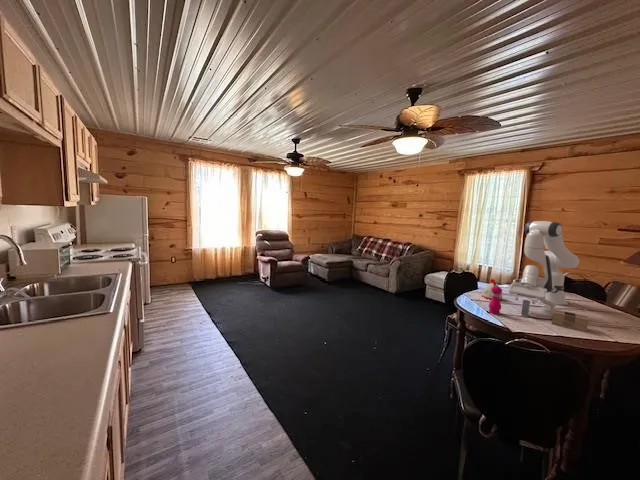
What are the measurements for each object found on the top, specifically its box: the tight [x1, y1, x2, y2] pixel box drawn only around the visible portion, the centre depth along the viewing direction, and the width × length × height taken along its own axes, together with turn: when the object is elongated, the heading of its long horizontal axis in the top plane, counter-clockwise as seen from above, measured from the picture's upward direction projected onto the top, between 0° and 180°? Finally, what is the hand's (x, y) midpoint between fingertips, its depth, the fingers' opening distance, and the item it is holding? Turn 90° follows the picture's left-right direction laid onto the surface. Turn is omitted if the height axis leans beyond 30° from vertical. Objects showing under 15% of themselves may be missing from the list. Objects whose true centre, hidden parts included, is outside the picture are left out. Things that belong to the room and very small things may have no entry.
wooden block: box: [550, 308, 589, 333], centre depth 173 cm, size 8×16×8 cm, turn 49°
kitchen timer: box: [481, 278, 503, 302], centre depth 223 cm, size 14×14×15 cm
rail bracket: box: [520, 299, 531, 318], centre depth 188 cm, size 4×4×10 cm
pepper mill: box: [488, 283, 503, 315], centre depth 191 cm, size 7×7×20 cm
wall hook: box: [539, 299, 558, 315], centre depth 196 cm, size 9×10×10 cm
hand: (524, 301), depth 190 cm, fingers open, 8 cm apart
